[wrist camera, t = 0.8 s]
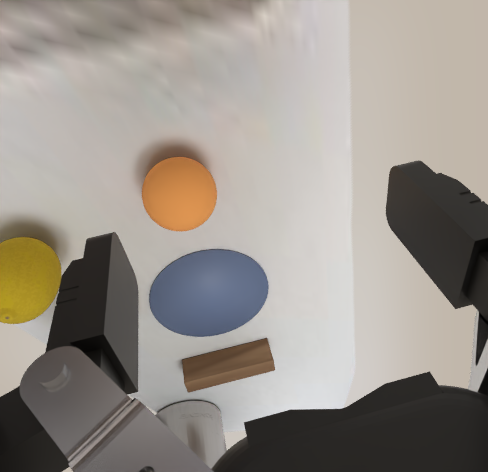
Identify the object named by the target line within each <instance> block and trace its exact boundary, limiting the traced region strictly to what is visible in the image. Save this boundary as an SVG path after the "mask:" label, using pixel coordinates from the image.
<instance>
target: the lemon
mask: <svg viewBox="0 0 488 472" xmlns="http://www.w3.org/2000/svg"><path fill="white" fill-rule="evenodd" d="M60 283H61V265H60V262H59V259H58V257H57V255H56V253H55V252H54V251H53V249H52V248H51V247H49V246H48V245H47V244H46V243H44V242H42V241H40V240H37V239H34V238H29V237H17V238H12V239H8V240H5V241H3V242H2V243H0V322H3V323H8V324H18V323H24V322H27V321H30V320H32V319H35V318H36V317H38V316H39V315H41V314H42V313H43V312H44V311H45V310H46V309H47V308H48V307H49V306H50V304H51V303H52V302H53V300H54V298H55V297H56V294H57V292H58V289H59V287H60Z"/></svg>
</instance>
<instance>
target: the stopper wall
mask: <svg viewBox="0 0 488 472" xmlns="http://www.w3.org/2000/svg"><path fill="white" fill-rule="evenodd" d="M182 364H183V374H184V383H185V386H186V388H187V391H188V392H192V391H196V390H200V389H204V388H208V387H212V386H216V385H220V384H223V383H227V382H231V381H235V380H239V379H243V378H247V377H251V376H254V375H258V374H262V373H266V372H270V371H274V370H275V367H274V360H273V357H272V353H271V350H270V347H269V344H268V340H267V338H266V339H262V340H258V341H254V342H250V343H247V344H243V345H239V346H235V347H231V348H227V349H223V350H219V351H215V352H211V353H207V354H203V355H199V356H195V357H191V358H187V359H183V360H182Z"/></svg>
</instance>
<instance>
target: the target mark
mask: <svg viewBox="0 0 488 472" xmlns="http://www.w3.org/2000/svg"><path fill="white" fill-rule="evenodd" d="M267 294H268V281H267V277H266V274H265V273H264V271H263V269H262V268H261V266H260V265H259V264H258V263H257V262H256V261H254V260H253V259H251V258H250V257H248V256H246V255H244V254H241V253H238V252H235V251H230V250H222V249H212V250H203V251H199V252H195V253H191V254H188V255H186V256H184V257H181V258H179V259H177V260H176V261H174V262H172V263H171V264H170V265H168V266H167V267H166V268H165V269H164V270H163V271H162V272H161V273H160V274H159V275H158V276H157V278H156V279H155V281H154V283H153V285H152V287H151V290H150V299H149V302H150V308H151V311H152V313H153V315H154V316H155V318H156V319H157V320H158V321H159V323H161V324H162V325H163V326H164V327H166V328H168V329H169V330H171V331H173V332H176V333H179V334H182V335H187V336H196V337H204V336H214V335H219V334H223V333H226V332H229V331H232V330H234V329H236V328H238V327H240V326H242V325H244V324H245V323H247V322H248V321H249V320H251V319H252V318H253V317H254V316H255V315H256V314H257V313H258V312H259V311H260V309H261V308H262V306H263V305H264V303H265V301H266V298H267Z"/></svg>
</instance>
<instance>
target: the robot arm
mask: <svg viewBox="0 0 488 472" xmlns="http://www.w3.org/2000/svg"><path fill="white" fill-rule="evenodd" d="M386 216H387V220H388V224H389V226H390V228H391V230H392V231H393V232H394V233H395V235H396V236H397V237H398V238H399V239H400V241H401V242H402V243H403V245H404V246H405V247H406V248H407V249H408V251H409V252H410V253H411V254H412V256H413V257H414V258H415V259H416V261H417V262H418V263H419V264H420V266H421V267H422V268H423V269H424V271H425V272H426V273H427V274H428V275H429V277H430V278H431V279H432V280H433V282H434V283H435V284H436V285H437V287H438V288H439V289H440V290H441V292H442V293H443V294H444V295H445V296H446V298H447V299H448V300H449V302H450V303H451V304H452V305H453V307H454V308H455V309H457V308H461V307H465V306H468V305H472V304H473V305H474V306H475V307H476V309H477V313H476V316H475V325H474V339H473V352H472V365H471V376H470V382H469V386H468V389H464V388H459V387H453V386H442V385H441V386H439V385H438V384H437V382H436V381H435V379H434V378H433V376H432V375H431V373H430V372H427V373H423V374H419V375H416V376H412V377H408V378H405V379H401V380H397V381H394V382H390V383H386V384H384V385H382V386H381V387H379V388H377V389H376V390H374V391H372V392H371V393H369V394H368V395H366V396H364V397H363V398H361V399H359V400H358V401H356V402H354V403H353V404H351V405H350V406H348V407H346V408H342V409H310V410H288V411H284V412H281V413H277V414H273V415H270V416H266V417H262V418H259V419H255V420H252V421H248V422H244V425H245V429H246V434H247V437H245V438H244V439H242V440H240V441H239V442H237V443H236V444H235V445H233V446H232V447H231V448H230V449H228V450H226V444H225V438H224V431H223V425H222V419H221V413H220V410H219V409H218V408H217V407H216V406H215V405H213V404H211V403H208V402H204V401H186V402H180V403H177V404H173V405H171V406H168V407H166V408H164V409H163V410H161V411H160V412H158V413H157V414H156V415H154V414H153V413H152V412H151V411H150V410H149V409H148V408H147V407H146V406H145V405H144V404H142V403H141V402H140V401H139V400H137V399H133V400H132V399H131V398H130V397H129V396H128V395H127V394H131V393H135V392H138V285H137V280H136V277H135V273H134V271H133V268H132V266H131V264H130V262H129V260H128V257H127V255H126V253H125V251H124V248H123V246H122V244H121V242H120V239H119V237H118V235H117V234H116V233H115V232H113V233H109V234H105V235H100V236H96V237H92V238H88V239H87V240H86V245H85V251H84V257H83V258H82V259H78V260H74V261H72V262H71V264H70V265H69V266H68V268H67V269H66V271H65V272H64V274H63V275H62V278H61V283H60V287H59V294H58V297H57V301H56V304H57V306H55V310H54V315H53V320H52V324H51V329H50V334H49V338H48V343H47V348H46V352H45V354H43V355H41V356H40V357H39V358H37V359H36V360H35V361H34V362H33V363H32V364H31V365H30V366H29V368H28V369H27V371H26V372H25V373H24V375H23V377H22V380H21V383H20V386H19V387H18V388H16V389H14V390H12V391H11V392H9V393H7V394H5V395H3V396H1V397H0V472H62V471H63V470H65V469H66V468H68V467H70V468H71V469H72V470H73V472H488V205H487V204H486V203H485V202H484V201H483V202H481V199H480V198H479V197H478V196H476V195H475V194H474V193H471V192H470V190H469V189H468V188H467V187H465V186H464V185H463V184H462V183H461V182H459V181H458V180H456V179H453V178H451V177H449V176H446V175H444V174H442V173H438V174H436V173H435V172H433V171H432V170H431V169H430V168H429V167H428V166H427V165H425V164H424V163H423V162H422V161H414V162H410V163H406V164H402V165H398V166H394V167H392V168H391V170H390V174H389V184H388V194H387V204H386Z"/></svg>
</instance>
